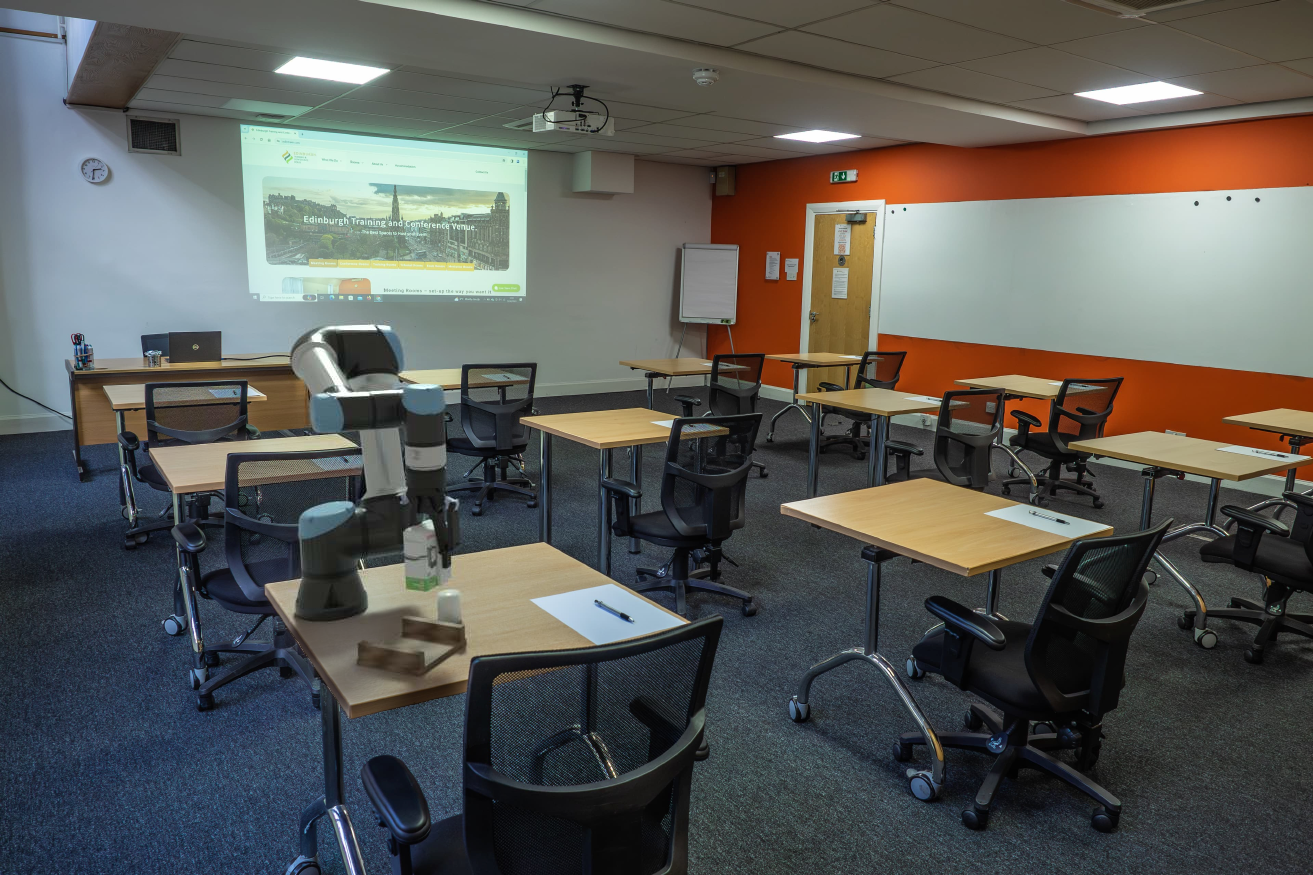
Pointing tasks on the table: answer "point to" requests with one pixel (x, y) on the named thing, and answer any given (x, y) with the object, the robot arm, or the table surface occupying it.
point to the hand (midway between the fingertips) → (429, 581)
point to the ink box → (421, 557)
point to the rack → (413, 646)
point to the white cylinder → (449, 606)
